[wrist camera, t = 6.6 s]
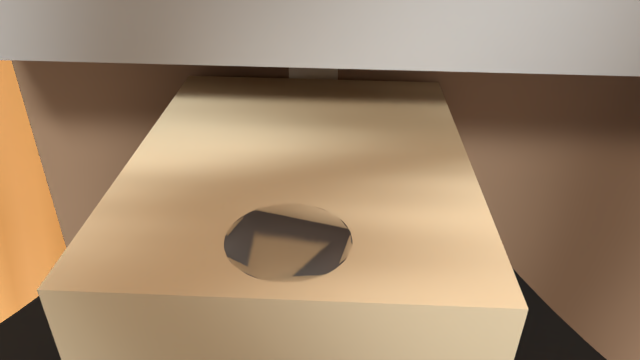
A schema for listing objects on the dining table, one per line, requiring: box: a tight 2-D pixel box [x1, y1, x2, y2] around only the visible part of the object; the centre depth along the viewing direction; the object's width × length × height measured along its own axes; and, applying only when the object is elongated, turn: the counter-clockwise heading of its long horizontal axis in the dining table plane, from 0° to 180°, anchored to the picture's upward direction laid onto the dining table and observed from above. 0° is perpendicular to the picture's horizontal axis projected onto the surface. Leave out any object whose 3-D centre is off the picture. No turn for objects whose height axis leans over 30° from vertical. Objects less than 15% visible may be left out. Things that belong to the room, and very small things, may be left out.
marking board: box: [0, 0, 640, 360], centre depth 10 cm, size 22×12×3 cm, turn 89°
